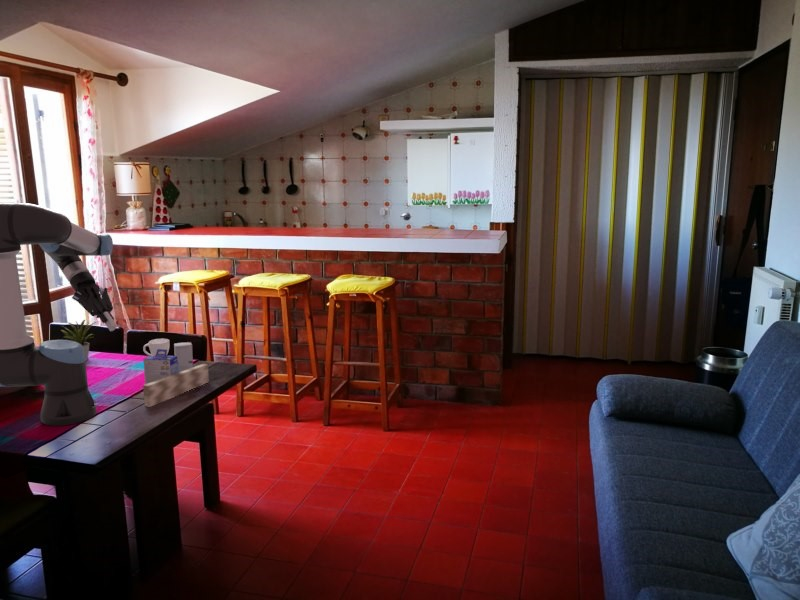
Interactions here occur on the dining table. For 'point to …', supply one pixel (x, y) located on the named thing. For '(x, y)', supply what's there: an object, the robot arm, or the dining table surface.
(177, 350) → the skincare box
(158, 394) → the board
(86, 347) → the house plant
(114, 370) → the dining table surface
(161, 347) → the cup
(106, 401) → the dining table surface
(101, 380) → the dining table surface
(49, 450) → the dining table surface
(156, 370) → the ink cartridge box
